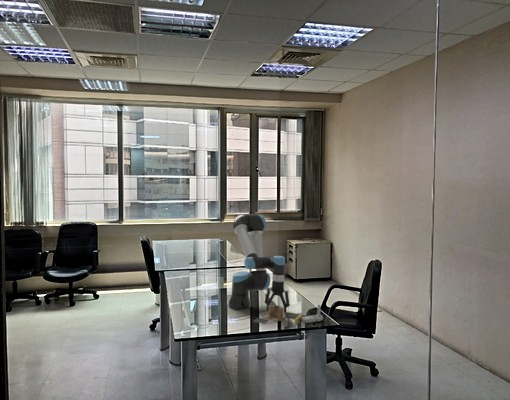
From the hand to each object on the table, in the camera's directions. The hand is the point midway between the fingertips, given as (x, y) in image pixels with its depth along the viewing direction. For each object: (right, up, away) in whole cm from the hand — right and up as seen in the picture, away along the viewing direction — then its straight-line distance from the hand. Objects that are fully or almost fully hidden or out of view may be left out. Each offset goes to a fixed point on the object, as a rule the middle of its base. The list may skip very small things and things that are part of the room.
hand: (276, 316), depth 255 cm
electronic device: (+22, -3, 0) cm, 23 cm away
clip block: (0, 0, 0) cm, 0 cm away
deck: (+3, -2, 0) cm, 4 cm away
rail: (+4, -2, 0) cm, 4 cm away
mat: (-10, -1, -7) cm, 12 cm away
